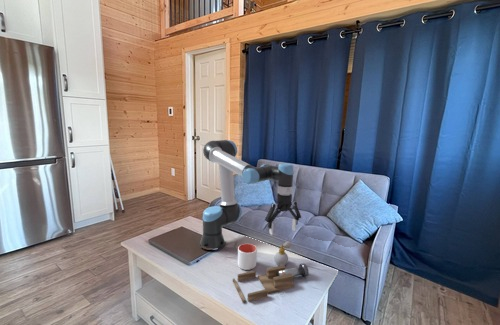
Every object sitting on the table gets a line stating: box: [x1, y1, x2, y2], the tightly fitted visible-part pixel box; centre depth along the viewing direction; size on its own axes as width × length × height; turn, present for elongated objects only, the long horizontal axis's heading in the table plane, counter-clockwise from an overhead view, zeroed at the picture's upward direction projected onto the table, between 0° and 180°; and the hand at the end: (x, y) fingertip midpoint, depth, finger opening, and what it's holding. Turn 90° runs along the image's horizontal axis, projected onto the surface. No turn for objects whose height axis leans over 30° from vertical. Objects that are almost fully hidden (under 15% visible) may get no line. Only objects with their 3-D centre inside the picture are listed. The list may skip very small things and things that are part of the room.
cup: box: [237, 243, 258, 271], centre depth 126 cm, size 10×10×10 cm
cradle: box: [232, 265, 295, 304], centre depth 111 cm, size 15×26×5 cm, turn 111°
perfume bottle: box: [274, 240, 292, 267], centre depth 129 cm, size 8×10×12 cm
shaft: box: [277, 262, 309, 278], centre depth 117 cm, size 6×15×6 cm, turn 111°
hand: (282, 232), depth 126 cm, fingers open, 13 cm apart
